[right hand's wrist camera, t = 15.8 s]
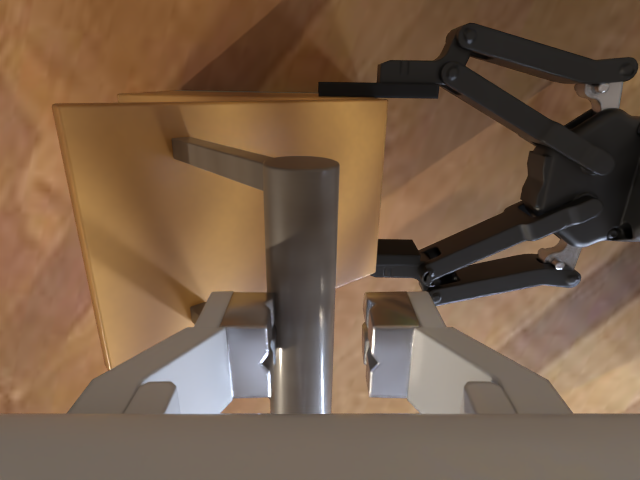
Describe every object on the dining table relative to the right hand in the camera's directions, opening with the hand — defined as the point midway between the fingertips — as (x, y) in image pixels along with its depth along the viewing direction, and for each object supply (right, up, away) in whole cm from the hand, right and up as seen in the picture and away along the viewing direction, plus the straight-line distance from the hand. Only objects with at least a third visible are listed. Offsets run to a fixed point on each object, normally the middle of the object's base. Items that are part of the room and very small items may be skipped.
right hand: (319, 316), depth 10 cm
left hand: (0, +6, +15) cm, 16 cm away
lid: (-3, +3, +8) cm, 9 cm away
